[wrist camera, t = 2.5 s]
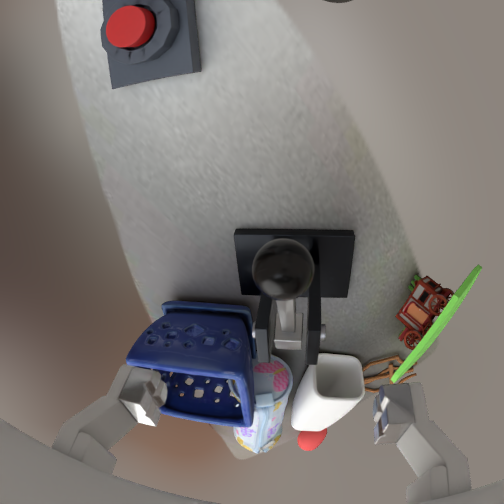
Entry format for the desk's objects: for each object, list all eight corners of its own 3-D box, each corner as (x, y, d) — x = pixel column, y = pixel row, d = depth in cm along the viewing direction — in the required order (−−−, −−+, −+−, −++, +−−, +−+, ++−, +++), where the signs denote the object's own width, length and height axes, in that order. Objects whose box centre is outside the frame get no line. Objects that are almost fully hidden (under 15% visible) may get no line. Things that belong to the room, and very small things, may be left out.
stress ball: (327, 455, 48) (306, 437, 50) (302, 456, 55) (283, 439, 56) (341, 436, 52) (321, 417, 53) (315, 439, 59) (297, 422, 60)
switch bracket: (235, 228, 32) (205, 308, 23) (353, 230, 30) (371, 314, 21) (243, 288, 37) (221, 370, 27) (346, 290, 35) (354, 376, 25)
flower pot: (266, 359, 44) (254, 431, 34) (181, 350, 46) (156, 416, 36) (261, 291, 37) (244, 376, 27) (158, 285, 39) (119, 357, 29)
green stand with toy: (470, 281, 21) (415, 240, 25) (380, 396, 28) (341, 358, 32) (487, 261, 30) (451, 234, 34) (427, 348, 37) (397, 322, 41)
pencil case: (283, 414, 53) (278, 459, 46) (238, 409, 54) (228, 452, 47) (296, 349, 41) (291, 409, 34) (234, 342, 42) (219, 400, 35)
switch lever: (251, 225, 16) (244, 283, 14) (315, 226, 15) (315, 285, 14) (272, 318, 28) (269, 353, 26) (308, 319, 27) (307, 354, 26)
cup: (285, 434, 44) (313, 398, 35) (287, 396, 50) (312, 351, 40) (328, 436, 44) (366, 400, 35) (326, 399, 50) (360, 355, 41)
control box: (114, -3, 20) (90, -8, 16) (192, -26, 18) (175, -37, 15) (123, 86, 25) (101, 92, 22) (201, 71, 24) (185, 73, 21)
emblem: (415, 384, 43) (414, 381, 44) (418, 351, 38) (417, 347, 39) (346, 398, 47) (346, 394, 48) (337, 368, 42) (337, 364, 42)
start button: (115, 14, 18) (104, 13, 17) (153, 2, 17) (143, -1, 16) (119, 51, 20) (107, 52, 19) (157, 41, 19) (147, 40, 18)
